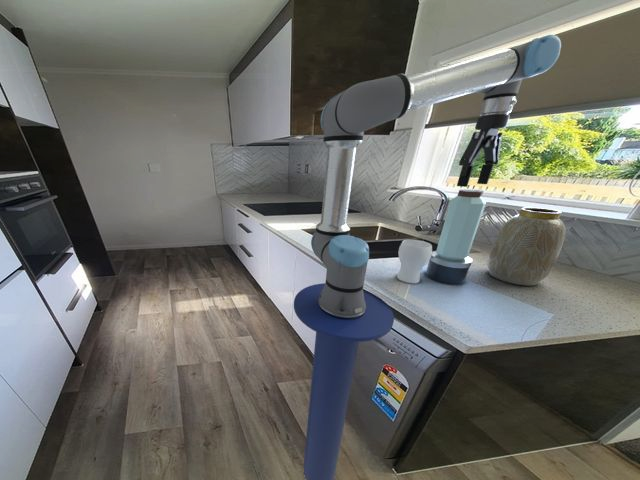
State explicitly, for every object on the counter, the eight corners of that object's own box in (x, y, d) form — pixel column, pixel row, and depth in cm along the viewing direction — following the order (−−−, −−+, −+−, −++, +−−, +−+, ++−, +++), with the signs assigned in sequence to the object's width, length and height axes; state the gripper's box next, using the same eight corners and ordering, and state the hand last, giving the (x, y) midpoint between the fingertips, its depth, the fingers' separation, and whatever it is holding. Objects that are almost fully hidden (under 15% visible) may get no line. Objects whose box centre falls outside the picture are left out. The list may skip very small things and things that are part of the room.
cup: (387, 275, 100) (394, 240, 94) (406, 271, 103) (415, 237, 97) (409, 287, 91) (418, 250, 85) (430, 282, 94) (441, 246, 88)
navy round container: (418, 274, 100) (423, 254, 97) (436, 267, 106) (442, 248, 102) (453, 288, 89) (461, 266, 86) (471, 280, 95) (479, 258, 91)
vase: (550, 280, 93) (585, 211, 83) (535, 293, 85) (572, 218, 75) (492, 265, 107) (516, 203, 97) (475, 274, 99) (499, 209, 89)
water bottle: (470, 263, 88) (494, 193, 78) (436, 258, 92) (456, 191, 83) (464, 254, 96) (486, 189, 86) (434, 250, 100) (451, 188, 91)
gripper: (489, 110, 68) (466, 188, 76) (527, 115, 78) (502, 183, 86) (459, 114, 74) (440, 186, 82) (497, 118, 84) (477, 182, 92)
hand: (472, 185), depth 84 cm, fingers open, 13 cm apart
